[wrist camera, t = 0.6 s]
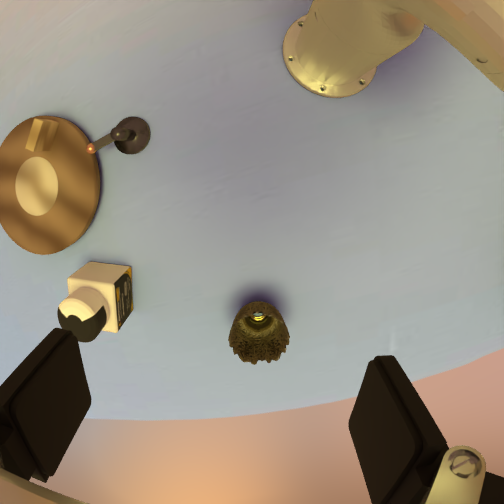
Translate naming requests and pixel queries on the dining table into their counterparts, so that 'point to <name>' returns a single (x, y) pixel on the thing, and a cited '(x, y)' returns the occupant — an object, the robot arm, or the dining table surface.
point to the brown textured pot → (258, 333)
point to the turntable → (47, 184)
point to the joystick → (125, 137)
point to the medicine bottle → (96, 300)
